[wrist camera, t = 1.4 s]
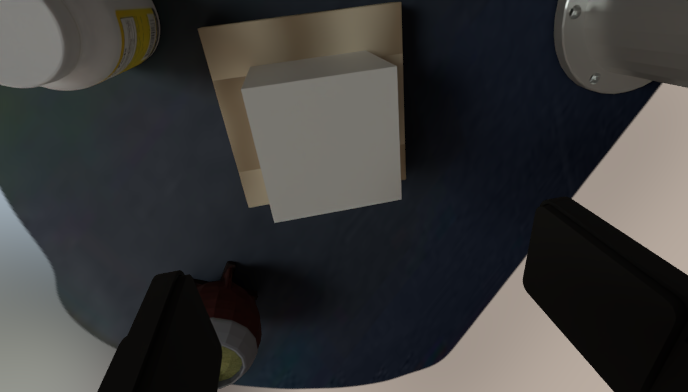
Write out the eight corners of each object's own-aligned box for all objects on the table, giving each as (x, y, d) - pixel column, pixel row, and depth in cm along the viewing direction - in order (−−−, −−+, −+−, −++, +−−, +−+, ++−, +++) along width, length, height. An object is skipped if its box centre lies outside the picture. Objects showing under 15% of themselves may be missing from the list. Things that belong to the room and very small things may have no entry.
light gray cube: (365, 50, 22) (396, 66, 16) (373, 155, 26) (401, 199, 20) (250, 66, 21) (240, 89, 16) (274, 173, 25) (274, 222, 19)
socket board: (391, 2, 23) (401, 1, 21) (398, 168, 29) (405, 179, 27) (203, 26, 22) (197, 28, 20) (250, 194, 28) (248, 207, 26)
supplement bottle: (35, -15, 19) (-151, -30, 11) (126, -51, 19) (8, -95, 11) (100, 80, 22) (-8, 127, 14) (180, 48, 22) (120, 76, 14)
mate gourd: (272, 266, 31) (271, 452, 18) (247, 328, 34) (230, 525, 21) (184, 247, 29) (111, 446, 16) (165, 315, 32) (90, 529, 19)
